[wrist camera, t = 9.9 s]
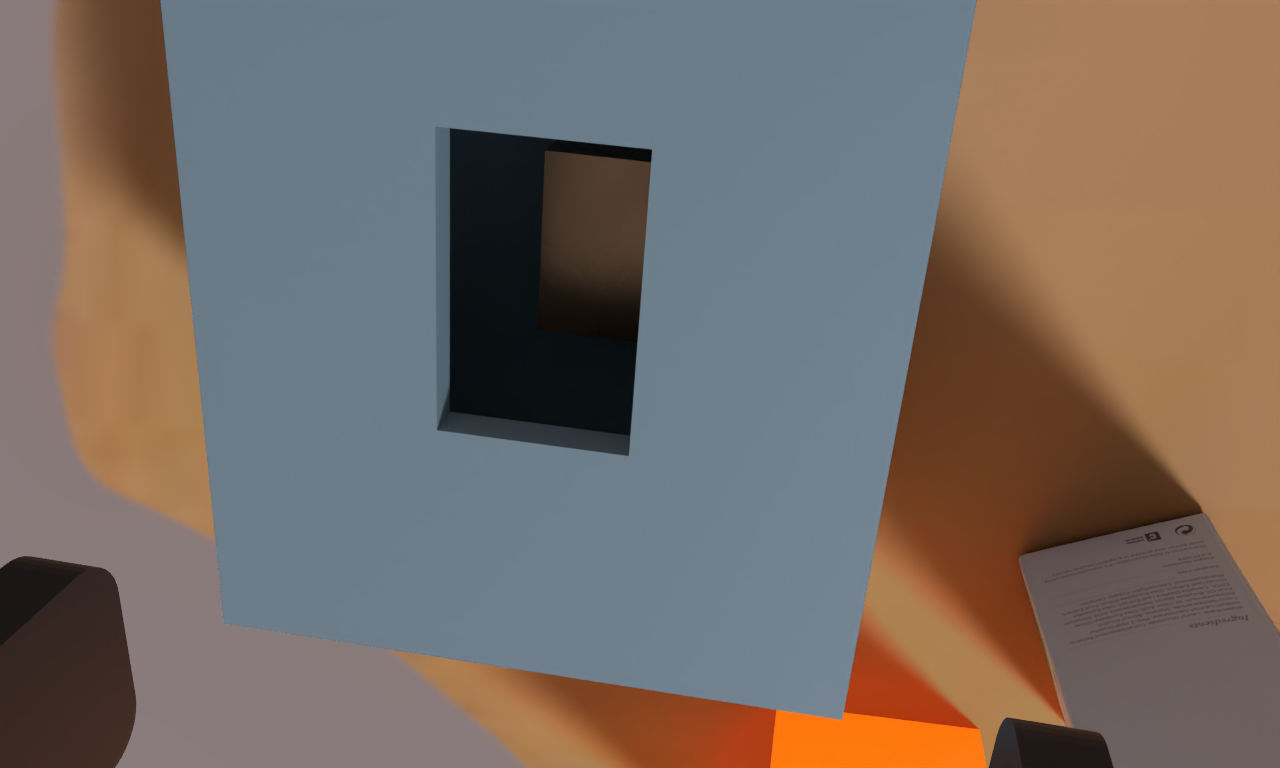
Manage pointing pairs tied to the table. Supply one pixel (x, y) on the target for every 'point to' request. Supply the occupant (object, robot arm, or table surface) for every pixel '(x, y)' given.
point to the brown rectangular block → (593, 239)
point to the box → (552, 361)
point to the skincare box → (1160, 646)
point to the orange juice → (871, 743)
